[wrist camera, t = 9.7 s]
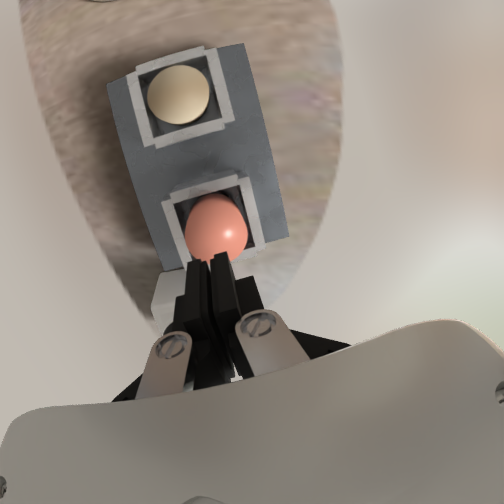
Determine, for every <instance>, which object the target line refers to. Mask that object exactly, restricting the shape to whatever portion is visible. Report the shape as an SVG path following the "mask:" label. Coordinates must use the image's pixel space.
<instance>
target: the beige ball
mask: <svg viewBox="0 0 504 504" xmlns="http://www.w3.org/2000/svg"><path fill="white" fill-rule="evenodd" d="M147 100H148V105H149V107H150V109H151V111H152V112H153V114H154V115H155V116H156V117H158V118H159V119H161V120H163V121H165V122H168V123H171V124H174V125H179V126H183V125H189V124H192V123H194V122H196V121H197V120H199V119H200V118H201V117H202V116H203V115H204V113H205V112H206V110H207V108H208V104H209V85H208V82H207V80H206V78H205V77H204V75H203V74H202V73H201V72H200V71H198V70H197V69H195V68H193V67H190V66H184V65H178V66H172V67H169V68H167V69H165V70H163V71H161V72H160V73H159V74H158V75H157V76H156V77H155V78H154V79H153V80H152V82H151V84H150V86H149V89H148V94H147Z"/></svg>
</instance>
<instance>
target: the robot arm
mask: <svg viewBox="0 0 504 504" xmlns="http://www.w3.org/2000/svg"><path fill="white" fill-rule="evenodd" d="M92 1H101V2H105V1H114V0H92ZM233 363H234V365H235V367H236V370H237V372H238V375H239V376H242V377H243V380H239V381H235V382H231V379H230V378H234V377H235V372H234V365H233ZM0 504H504V351H503V350H502V349H501V348H500V347H499V346H498V345H497V344H496V343H494V342H493V341H492V340H491V339H490V338H489V337H487V336H486V335H485V334H484V333H482V332H481V331H480V330H478V329H477V328H476V327H474V326H472V325H470V324H469V323H466V322H464V321H461V320H457V319H437V320H429V321H423V322H419V323H415V324H410V325H407V326H404V327H401V328H398V329H395V330H392V331H389V332H386V333H384V334H381V335H379V336H376V337H373V338H371V339H368V340H365V341H363V342H360V343H357V344H355V345H349V344H347V343H342V342H338V341H334V340H330V339H326V338H322V337H317V336H314V335H310V334H306V333H302V332H298V331H294V330H290V329H289V328H288V327H287V325H286V324H285V323H284V321H283V320H282V318H281V317H280V316H279V315H278V314H277V313H276V312H274V311H272V310H266V309H264V307H263V304H262V301H261V298H260V295H259V292H258V289H257V286H256V283H255V280H254V277H253V276H249V277H246V278H242V279H239V280H235V276H234V273H233V270H232V266H231V263H230V260H229V257H228V253H227V251H225V252H221V253H218V254H214V258H213V259H210V269H209V266H208V264H207V261H201V259H197V260H193V261H190V262H187V271H186V282H185V293H184V295H180V296H177V297H176V300H175V308H174V316H173V326H172V332H171V333H168V334H166V335H163V336H162V337H161V338H159V339H158V340H157V341H156V342H155V343H154V345H153V347H152V349H151V351H150V354H149V357H148V360H147V363H146V367H145V369H144V372H143V374H141V376H139V377H138V378H137V379H136V380H135V381H134V382H132V383H131V384H130V385H129V386H128V387H127V388H126V389H125V390H124V391H122V392H121V393H120V394H119V395H118V396H117V397H115V398H114V400H113V401H112V402H110V403H98V404H83V405H67V406H52V407H45V408H39V409H36V410H32V411H29V412H27V413H25V414H23V415H21V416H19V417H17V418H16V419H15V420H14V421H12V423H11V424H10V426H9V428H8V430H7V432H6V434H5V437H4V439H3V441H2V445H1V447H0Z"/></svg>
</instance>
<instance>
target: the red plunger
mask: <svg viewBox="0 0 504 504" xmlns="http://www.w3.org/2000/svg"><path fill="white" fill-rule="evenodd" d="M247 237H248V233H247V227H246V224H245V222H244V220H243V217H242V215H241V213H240V210H239V208H238V206H237V205H236V203H235V202H234V201H233V200H232V199H231V198H229V197H227V196H225V195H222V194H208V195H205V196H203V197H201V198H199V199H198V200H197V201H196V202H195V203H194V204H193V206H192V207H191V209H190V212H189V216H188V220H187V225H186V229H185V242H186V245H187V248H188V250H189V251H190V253H191V254H192V255H193V256H194V257H195V258H196V259H201V261H207V264H210V259H213V258H214V254H218V253H221V252H225V251H227V253H228V257H229V260H230V262H231V261H232V260H234V259H235V258H237V257H238V256H239V255H240V254H241V253H242V251H243V250H244V248H245V246H246V243H247Z"/></svg>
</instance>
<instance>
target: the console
mask: <svg viewBox="0 0 504 504" xmlns="http://www.w3.org/2000/svg"><path fill="white" fill-rule="evenodd" d="M178 65H184V66H190V67H193V68H195V69H197V70H198V71H200V72H201V73H202V74H203V75H204V77H205V78H206V80H207V82H208V85H209V104H208V108H207V110H206V112H205V113H204V115H203V116H202V117H201V118H200V119H199V120H197V121H196V122H194V123H192V124H189V125H183V126H179V125H174V124H171V123H168V122H165V121H163V120H161V119H159V118H158V117H156V116H155V115H154V114H153V112H152V111H151V109H150V107H149V105H148V100H147V94H148V89H149V86H150V84H151V82H152V80H153V79H154V78H155V77H156V76H157V75H158V74H159V73H160V72H161V71H163V70H165V69H167V68H169V67H172V66H178ZM135 68H136V71H135V72H133V73H130V74H127V75H126V76H124V77H122V78H119V79H117V80H114V81H112V82H110V83H108V84H106V87H107V92H108V96H109V100H110V105H111V109H112V113H113V117H114V121H115V125H116V128H117V132H118V136H119V140H120V143H121V147H122V150H123V154H124V157H125V161H126V164H127V167H128V170H129V174H130V177H131V180H132V183H133V186H134V189H135V192H136V195H137V198H138V201H139V204H140V207H141V210H142V213H143V216H144V219H145V221H146V224H147V227H148V230H149V232H150V235H151V238H152V240H153V243H154V246H155V248H156V251H157V253H158V256H159V259H160V261H161V264H162V266H163V269H164V271H168V270H172V269H175V268H179V267H182V266H184V269H185V271H187V262H190V261H193V260H197V259H196V258H195V257H194V256H193V255H192V254H191V253H190V251H189V250H188V248H187V245H186V242H185V229H186V225H187V220H188V216H189V212H190V209H191V207H192V206H193V204H194V203H195V202H196V201H197V200H198V199H199V198H201V197H203V196H205V195H208V194H222V195H225V196H227V197H229V198H231V199H232V200H233V201H234V202H235V203H236V205H237V206H238V208H239V210H240V213H241V215H242V217H243V220H244V222H245V224H246V227H247V233H248V237H247V243H246V246H245V248H244V250H243V251H242V253H241V254H240V255H239V256H238V257H237V258H235V259H234V260H232V261H231V262H230V263H234V262H237V261H241V260H244V259H248V258H252V257H255V256H258V255H257V251H259V250H263V249H266V245H265V243H267V242H271V241H275V240H278V239H282V238H285V237H289V232H288V227H287V222H286V217H285V213H284V208H283V203H282V198H281V193H280V189H279V184H278V179H277V175H276V170H275V166H274V161H273V157H272V153H271V148H270V144H269V140H268V135H267V131H266V127H265V123H264V119H263V115H262V111H261V107H260V103H259V99H258V95H257V91H256V87H255V83H254V79H253V75H252V72H251V68H250V64H249V61H248V57H247V53H246V50H245V46H244V43H242V44H236V45H231V46H225V47H221V48H213V49H208V50H205V49H204V46H200V47H196V48H192V49H188V50H185V51H181V52H178V53H174V54H171V55H167V56H164V57H161V58H158V59H155V60H152V61H149V62H146V63H143V64H141V65H138V66H135ZM208 266H209V269H210V264H208Z"/></svg>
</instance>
